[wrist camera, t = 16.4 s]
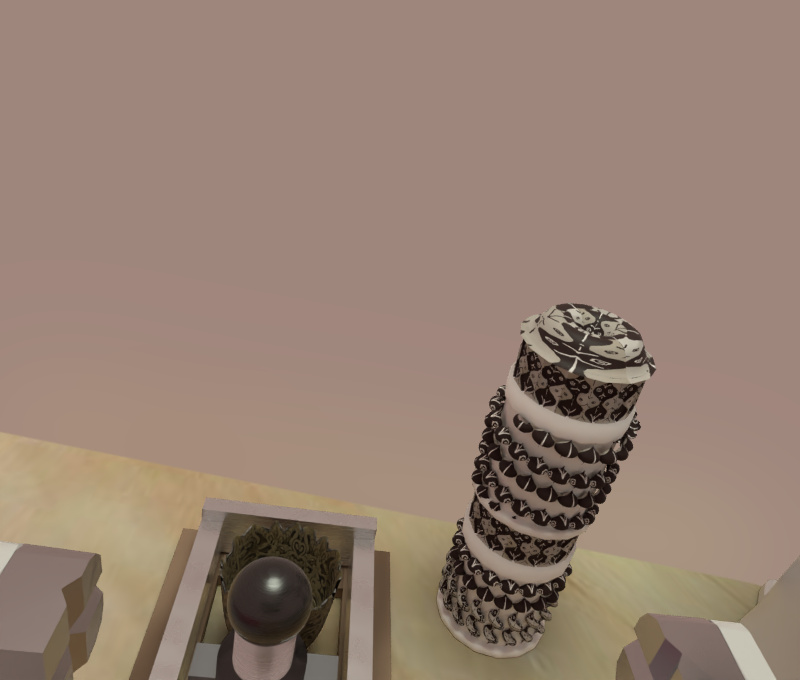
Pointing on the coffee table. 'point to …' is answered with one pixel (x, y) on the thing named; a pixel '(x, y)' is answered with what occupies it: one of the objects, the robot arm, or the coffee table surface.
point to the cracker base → (341, 593)
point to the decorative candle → (541, 474)
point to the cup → (297, 548)
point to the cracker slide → (269, 597)
